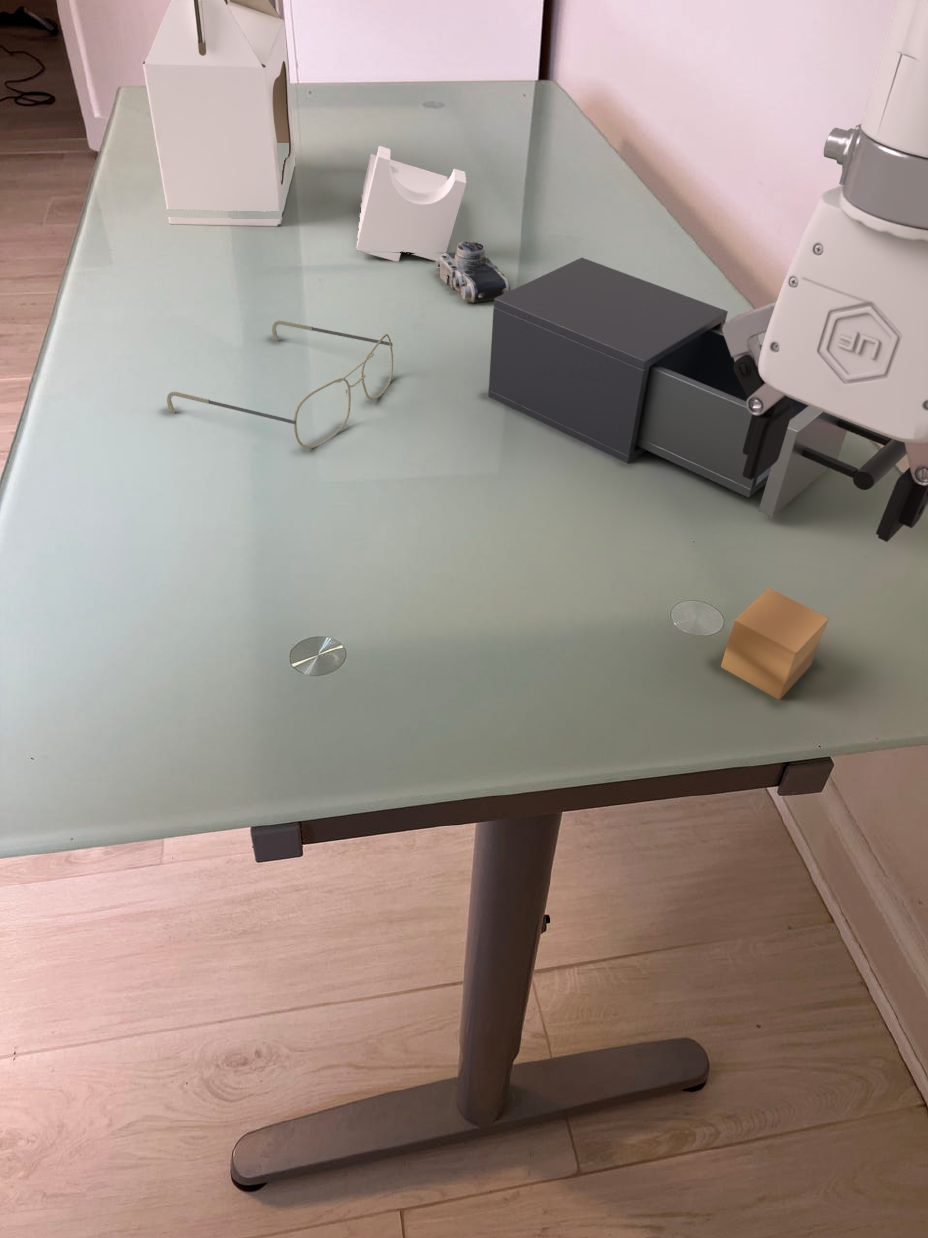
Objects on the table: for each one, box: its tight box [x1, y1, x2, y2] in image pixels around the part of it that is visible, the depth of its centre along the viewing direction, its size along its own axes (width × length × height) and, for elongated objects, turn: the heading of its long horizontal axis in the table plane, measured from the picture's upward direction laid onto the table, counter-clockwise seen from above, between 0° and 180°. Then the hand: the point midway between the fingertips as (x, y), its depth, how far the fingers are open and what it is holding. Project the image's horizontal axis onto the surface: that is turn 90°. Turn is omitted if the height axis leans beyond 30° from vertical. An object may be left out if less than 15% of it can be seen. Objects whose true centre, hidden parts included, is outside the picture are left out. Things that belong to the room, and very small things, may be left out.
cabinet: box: [488, 257, 728, 464], centre depth 88 cm, size 16×13×10 cm
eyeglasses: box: [166, 320, 394, 449], centre depth 88 cm, size 16×15×5 cm
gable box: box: [142, 0, 295, 227], centre depth 117 cm, size 22×13×28 cm, turn 2°
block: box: [720, 587, 830, 701], centre depth 65 cm, size 4×4×4 cm
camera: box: [434, 240, 511, 303], centre depth 107 cm, size 5×10×4 cm, turn 22°
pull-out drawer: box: [635, 327, 907, 518], centre depth 80 cm, size 20×11×8 cm, turn 48°
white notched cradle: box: [356, 145, 467, 262], centre depth 116 cm, size 18×10×10 cm, turn 2°
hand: (824, 496), depth 57 cm, fingers open, 7 cm apart
